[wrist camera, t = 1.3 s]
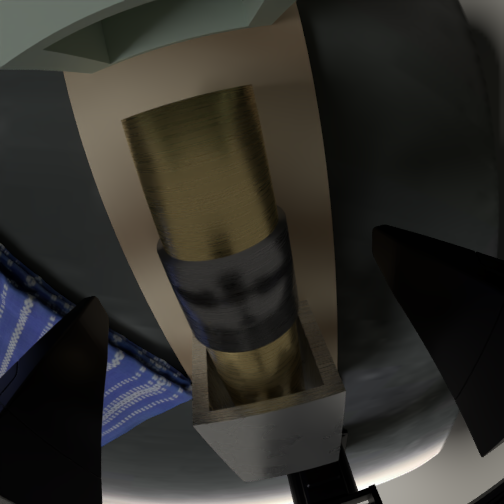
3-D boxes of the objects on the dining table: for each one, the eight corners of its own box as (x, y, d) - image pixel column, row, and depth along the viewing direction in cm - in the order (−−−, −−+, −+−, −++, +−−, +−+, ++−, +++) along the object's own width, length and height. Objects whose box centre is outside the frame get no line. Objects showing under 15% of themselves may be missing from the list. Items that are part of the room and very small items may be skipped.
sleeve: (315, 393, 17) (338, 460, 13) (235, 412, 17) (244, 482, 13) (306, 299, 13) (345, 390, 9) (192, 327, 13) (192, 425, 9)
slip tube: (305, 397, 16) (320, 449, 13) (245, 411, 16) (253, 464, 13) (249, 85, 8) (275, 79, 5) (132, 116, 8) (90, 131, 5)
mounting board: (334, 394, 19) (336, 401, 18) (221, 421, 19) (222, 428, 18) (255, -106, 5) (257, -113, 4) (54, -51, 4) (48, -56, 4)
